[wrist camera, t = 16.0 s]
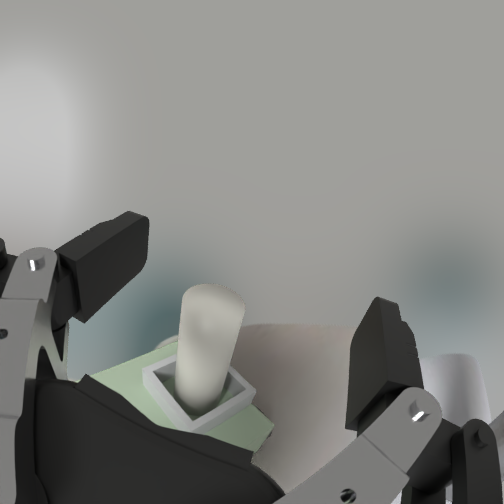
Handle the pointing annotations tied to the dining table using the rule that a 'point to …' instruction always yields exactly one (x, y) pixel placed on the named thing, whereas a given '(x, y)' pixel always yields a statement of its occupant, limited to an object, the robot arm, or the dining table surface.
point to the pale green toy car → (172, 415)
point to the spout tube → (205, 345)
